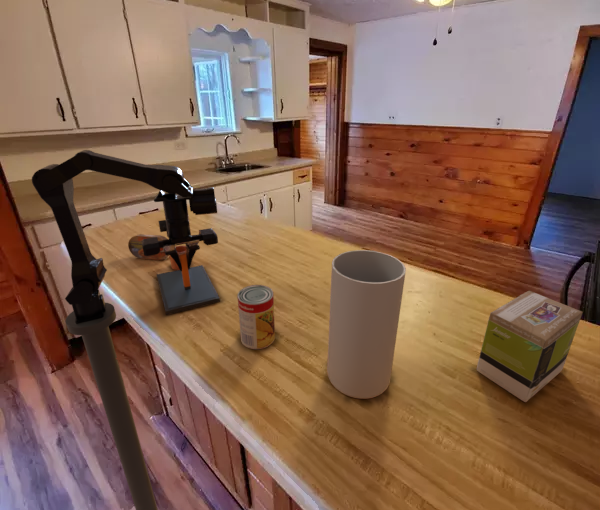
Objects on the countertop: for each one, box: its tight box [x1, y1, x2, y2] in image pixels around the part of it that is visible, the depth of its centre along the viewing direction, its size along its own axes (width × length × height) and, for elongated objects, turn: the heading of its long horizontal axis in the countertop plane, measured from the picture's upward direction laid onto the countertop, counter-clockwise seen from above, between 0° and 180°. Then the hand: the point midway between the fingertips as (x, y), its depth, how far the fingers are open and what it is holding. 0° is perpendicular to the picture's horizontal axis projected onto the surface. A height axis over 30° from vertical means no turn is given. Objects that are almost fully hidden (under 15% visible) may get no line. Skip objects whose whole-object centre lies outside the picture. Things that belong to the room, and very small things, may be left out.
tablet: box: [156, 264, 221, 316], centre depth 98 cm, size 14×22×1 cm, turn 27°
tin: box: [127, 233, 170, 261], centre depth 116 cm, size 15×3×8 cm, turn 81°
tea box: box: [476, 290, 584, 403], centre depth 66 cm, size 15×10×15 cm
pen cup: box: [169, 245, 186, 271], centre depth 111 cm, size 6×6×6 cm
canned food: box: [236, 284, 276, 350], centre depth 76 cm, size 8×8×12 cm
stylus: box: [179, 252, 191, 290], centre depth 93 cm, size 2×2×11 cm
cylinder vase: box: [326, 249, 407, 400], centre depth 63 cm, size 12×12×25 cm
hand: (184, 269), depth 93 cm, fingers closed on stylus, 1 cm apart
